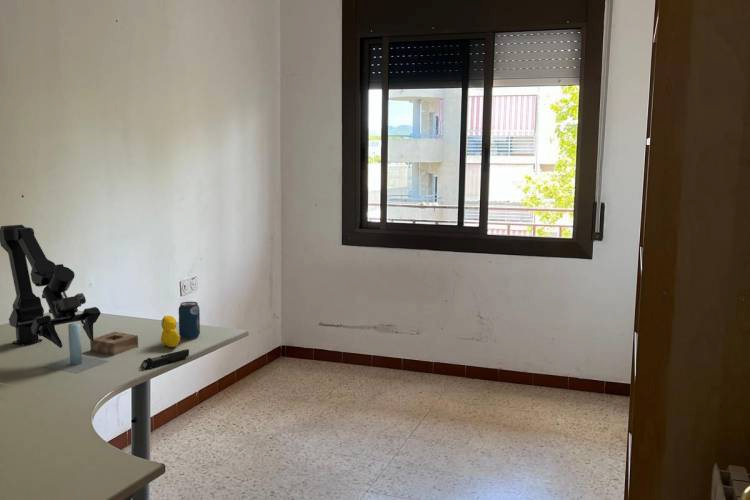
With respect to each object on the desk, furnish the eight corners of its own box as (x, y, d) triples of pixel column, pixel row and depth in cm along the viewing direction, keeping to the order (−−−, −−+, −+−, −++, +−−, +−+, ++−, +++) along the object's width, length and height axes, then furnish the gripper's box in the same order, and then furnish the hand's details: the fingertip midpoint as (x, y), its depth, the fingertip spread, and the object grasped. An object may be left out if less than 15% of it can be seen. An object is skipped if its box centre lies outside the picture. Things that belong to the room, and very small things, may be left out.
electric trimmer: (192, 359, 196) (191, 349, 196) (146, 371, 185) (146, 360, 184) (185, 357, 199) (184, 347, 198) (139, 368, 187) (139, 358, 186)
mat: (41, 367, 185) (41, 366, 185) (75, 355, 196) (75, 354, 196) (77, 374, 180) (76, 373, 180) (109, 362, 191) (109, 361, 191)
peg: (67, 364, 187) (65, 325, 185) (76, 361, 190) (74, 322, 188) (75, 365, 186) (73, 326, 184) (84, 362, 189) (82, 324, 187)
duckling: (157, 342, 211) (156, 313, 210) (173, 340, 214) (172, 311, 213) (166, 351, 202) (165, 321, 201) (183, 349, 205) (182, 319, 204)
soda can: (202, 338, 218) (202, 304, 216) (182, 341, 214) (182, 306, 212) (196, 333, 223) (195, 300, 221) (176, 336, 219) (175, 302, 218)
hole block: (90, 351, 200) (90, 339, 200) (114, 343, 210) (114, 331, 209) (114, 356, 197) (114, 343, 196) (138, 347, 206) (137, 335, 205)
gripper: (32, 290, 180) (52, 335, 175) (96, 281, 194) (116, 322, 189) (22, 312, 186) (41, 356, 181) (85, 302, 200) (104, 342, 195)
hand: (77, 343), depth 186 cm, fingers open, 9 cm apart
